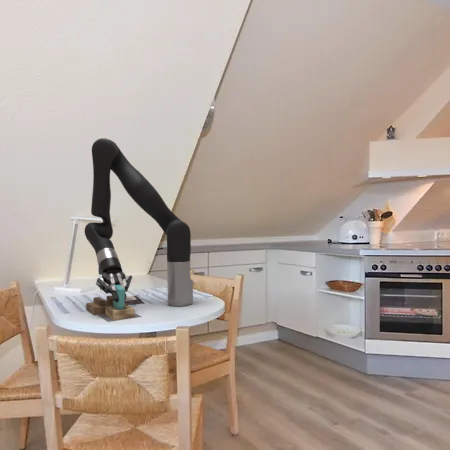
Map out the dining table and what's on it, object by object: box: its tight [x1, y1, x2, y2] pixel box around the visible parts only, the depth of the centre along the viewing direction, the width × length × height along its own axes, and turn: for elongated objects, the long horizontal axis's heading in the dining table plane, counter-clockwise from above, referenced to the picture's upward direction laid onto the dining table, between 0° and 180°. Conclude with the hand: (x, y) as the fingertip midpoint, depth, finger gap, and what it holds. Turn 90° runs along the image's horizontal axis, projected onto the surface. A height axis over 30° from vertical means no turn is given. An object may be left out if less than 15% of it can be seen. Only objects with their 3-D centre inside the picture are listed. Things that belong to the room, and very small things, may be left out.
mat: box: [97, 312, 142, 323], centre depth 153 cm, size 12×12×1 cm
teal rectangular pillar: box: [113, 285, 126, 310], centre depth 152 cm, size 2×6×10 cm, turn 33°
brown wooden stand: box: [85, 294, 126, 316], centre depth 162 cm, size 12×10×5 cm
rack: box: [105, 304, 136, 321], centre depth 153 cm, size 7×9×3 cm
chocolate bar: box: [124, 295, 145, 306], centre depth 180 cm, size 9×1×18 cm
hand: (120, 300), depth 151 cm, fingers closed on teal rectangular pillar, 1 cm apart
